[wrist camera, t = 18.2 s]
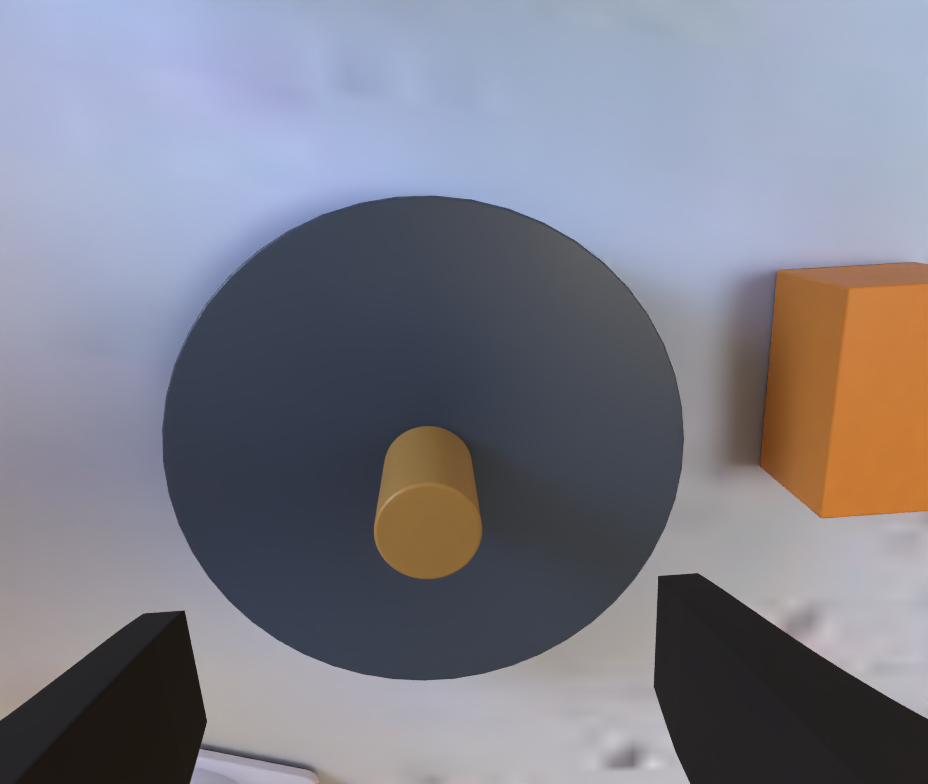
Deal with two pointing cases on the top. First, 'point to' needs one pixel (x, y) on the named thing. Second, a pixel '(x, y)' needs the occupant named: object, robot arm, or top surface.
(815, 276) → the soap
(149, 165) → the top surface
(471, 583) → the tin lid
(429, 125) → the top surface
